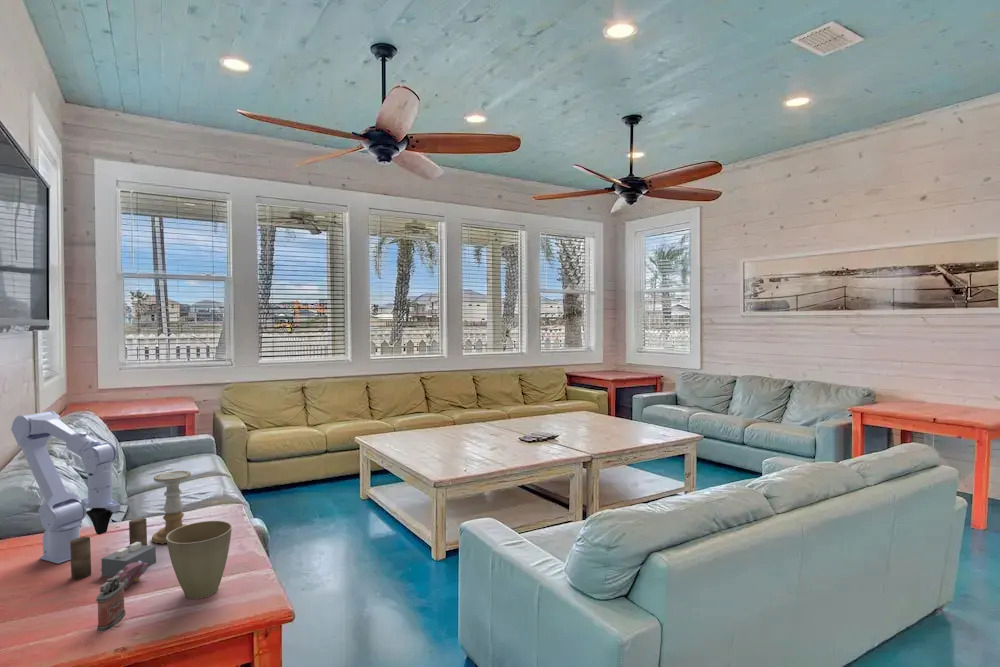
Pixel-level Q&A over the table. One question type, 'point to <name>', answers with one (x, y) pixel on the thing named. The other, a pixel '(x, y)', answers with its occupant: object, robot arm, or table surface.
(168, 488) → the candle holder
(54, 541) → the robot arm
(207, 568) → the plant pot
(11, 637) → the table surface
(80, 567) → the walnut post
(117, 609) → the lighter
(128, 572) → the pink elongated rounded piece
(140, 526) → the walnut post
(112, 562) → the block
